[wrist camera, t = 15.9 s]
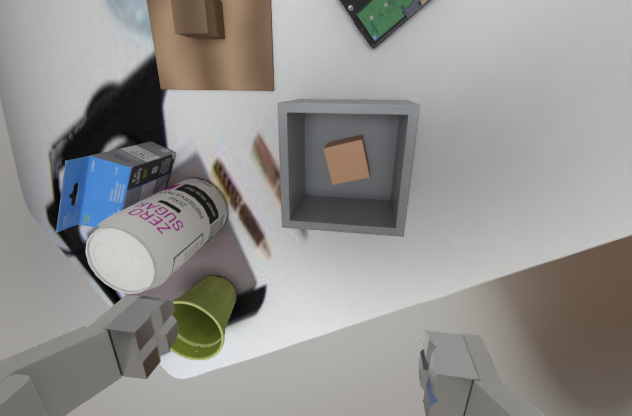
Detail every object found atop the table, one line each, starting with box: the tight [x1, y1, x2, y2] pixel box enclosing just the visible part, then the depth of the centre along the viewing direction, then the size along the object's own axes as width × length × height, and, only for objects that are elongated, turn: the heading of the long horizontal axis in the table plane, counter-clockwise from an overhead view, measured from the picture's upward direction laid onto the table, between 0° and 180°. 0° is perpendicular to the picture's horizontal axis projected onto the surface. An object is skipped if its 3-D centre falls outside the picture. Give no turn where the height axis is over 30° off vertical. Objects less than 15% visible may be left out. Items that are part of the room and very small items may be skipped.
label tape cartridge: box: [56, 142, 175, 232], centre depth 36 cm, size 9×4×12 cm, turn 155°
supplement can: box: [86, 178, 227, 294], centre depth 36 cm, size 8×8×15 cm
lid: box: [147, 0, 274, 91], centre depth 32 cm, size 14×14×5 cm
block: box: [323, 134, 370, 185], centre depth 34 cm, size 4×4×4 cm
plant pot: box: [170, 276, 237, 360], centre depth 44 cm, size 9×9×9 cm
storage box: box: [278, 99, 420, 237], centre depth 33 cm, size 12×12×9 cm
